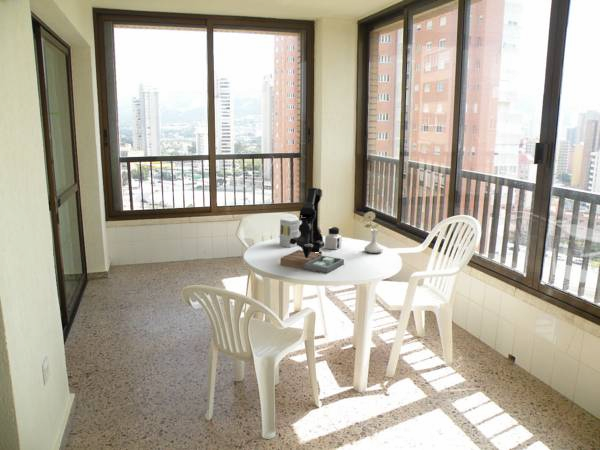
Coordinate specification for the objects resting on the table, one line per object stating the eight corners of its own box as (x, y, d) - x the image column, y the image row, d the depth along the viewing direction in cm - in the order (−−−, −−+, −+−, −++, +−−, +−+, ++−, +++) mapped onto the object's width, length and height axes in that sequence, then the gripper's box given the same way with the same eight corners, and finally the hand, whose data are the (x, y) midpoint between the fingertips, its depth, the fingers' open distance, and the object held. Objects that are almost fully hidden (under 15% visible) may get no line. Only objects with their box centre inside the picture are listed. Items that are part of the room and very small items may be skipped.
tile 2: (334, 258, 292) (334, 262, 292) (326, 257, 294) (326, 261, 295) (330, 260, 288) (330, 264, 288) (322, 259, 290) (322, 263, 291)
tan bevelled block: (298, 256, 306) (298, 249, 305) (321, 260, 298) (321, 253, 297) (280, 264, 289) (280, 257, 288) (304, 269, 281) (304, 262, 280)
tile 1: (325, 262, 283) (325, 267, 283) (317, 261, 285) (317, 265, 286) (321, 265, 279) (321, 269, 279) (313, 263, 281) (312, 268, 281)
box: (321, 260, 298) (321, 255, 298) (343, 264, 292) (344, 259, 291) (304, 269, 281) (304, 263, 281) (327, 273, 275) (327, 268, 274)
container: (341, 247, 328) (342, 227, 325) (335, 250, 321) (336, 229, 318) (330, 245, 332) (331, 225, 329) (324, 248, 325) (325, 227, 322)
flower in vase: (382, 249, 324) (384, 210, 319) (383, 254, 313) (385, 213, 308) (361, 248, 325) (363, 209, 320) (361, 253, 314) (363, 212, 309)
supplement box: (279, 245, 331) (279, 218, 327) (289, 242, 338) (289, 216, 334) (290, 247, 325) (290, 221, 321) (300, 245, 332) (300, 219, 328)
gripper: (284, 230, 279) (284, 258, 282) (315, 235, 270) (314, 264, 273) (295, 226, 288) (294, 254, 292) (325, 231, 279) (324, 259, 283)
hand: (306, 257), depth 285 cm, fingers closed
